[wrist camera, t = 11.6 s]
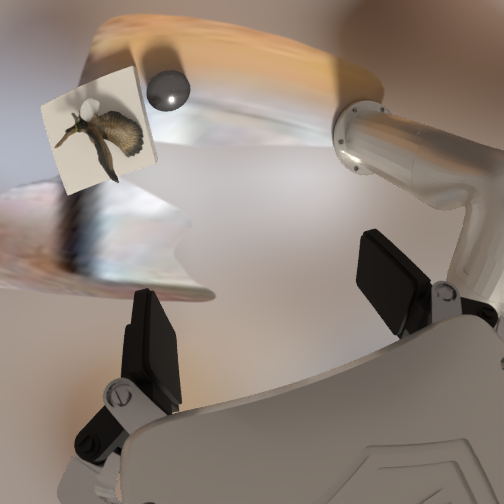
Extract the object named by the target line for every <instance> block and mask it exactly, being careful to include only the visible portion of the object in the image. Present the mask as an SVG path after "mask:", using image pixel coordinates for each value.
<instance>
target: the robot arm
mask: <svg viewBox="0 0 504 504" xmlns="http://www.w3.org/2000/svg"><path fill="white" fill-rule="evenodd" d="M352 109H353V110H352ZM334 147H335V151H336V154H337V157H338V158H339V160H340V162H341V163H342V164H343V165H344V166H345V167H346V168H347V169H349V170H350V171H352V172H353V173H356V174H359V175H371V174H374V173H375V174H377V175H379V176H380V177H382V178H384V179H386V180H387V181H389V182H391V183H392V184H394V185H396V186H398V187H399V188H401V189H402V190H404V191H406V192H407V193H409V194H410V195H412V196H414V197H415V198H417V199H418V200H420V201H422V202H423V203H425V204H426V205H428V206H430V207H432V208H434V209H437V210H442V211H445V210H453V209H456V208H459V207H462V206H465V208H466V213H465V217H464V222H463V227H462V230H461V234H460V236H459V239H458V242H457V245H456V248H455V251H454V254H453V257H452V260H451V263H450V266H449V269H448V273H447V279H446V281H438V282H436V283H434V284H433V285H432V284H431V283H430V281H431V280H430V279H429V278H428V277H427V276H426V275H425V274H424V273H423V272H422V271H421V270H420V269H419V268H418V267H417V266H416V265H415V264H414V263H413V262H412V261H411V260H410V259H409V258H408V257H407V256H406V255H405V254H404V253H402V251H400V250H399V249H398V248H397V247H396V246H395V245H394V244H393V243H392V242H391V241H390V240H388V239H387V238H386V237H385V236H384V235H383V234H382V233H380V232H379V231H378V230H377V229H371V230H368V231H365V232H364V233H363V235H362V236H361V239H360V249H359V259H358V268H357V275H356V283H357V286H358V287H359V289H360V290H361V291H362V293H363V294H364V295H365V296H366V298H367V299H368V300H369V302H370V303H371V304H372V306H373V307H374V308H375V310H376V311H377V312H378V314H379V315H380V316H381V318H382V319H383V320H384V322H385V323H386V325H387V326H388V327H389V329H390V330H391V332H392V333H393V334H394V335H397V336H398V337H399V339H400V340H399V341H397V342H394V343H392V344H390V345H388V346H386V347H384V348H382V349H380V350H377V351H375V352H373V353H371V354H368V355H366V356H364V357H361V358H359V359H357V360H354V361H352V362H349V363H347V364H344V365H342V366H339V367H337V368H334V369H332V370H329V371H326V372H324V373H321V374H318V375H316V376H313V377H310V378H307V379H304V380H301V381H298V382H295V383H292V384H289V385H285V386H282V387H279V388H276V389H272V390H269V391H265V392H262V393H258V394H255V395H251V396H247V397H243V398H240V399H235V400H231V401H228V402H223V403H219V404H215V405H210V406H205V407H201V408H196V409H192V410H187V411H183V412H179V413H175V414H172V412H177V411H179V406H178V404H182V397H181V388H180V378H179V366H178V354H177V339H176V334H175V331H174V329H173V327H172V325H171V323H170V322H169V320H168V318H167V316H166V314H165V312H164V310H163V308H162V306H161V304H160V302H159V300H158V298H157V296H156V294H155V292H154V291H150V290H149V289H148V288H146V289H142V290H138V291H135V294H134V302H133V309H132V318H131V324H128V325H127V326H126V328H125V335H124V344H123V355H122V368H121V378H118V379H115V380H113V381H112V382H110V383H109V384H108V385H107V386H106V388H105V390H104V394H103V401H104V404H105V405H104V407H103V408H102V409H101V410H100V411H99V412H98V413H97V414H96V415H95V416H94V417H93V418H92V419H91V420H90V422H89V423H88V424H87V425H86V426H85V427H84V428H83V429H82V430H81V431H80V432H79V433H78V435H77V436H76V439H75V445H74V447H75V451H76V455H75V457H73V456H72V457H71V459H70V461H69V463H68V465H67V468H66V470H65V472H64V474H63V477H62V479H61V481H60V483H59V486H58V489H57V496H58V499H59V501H60V502H61V503H62V504H122V503H123V504H504V150H501V149H497V148H493V147H490V146H487V145H483V144H480V143H477V142H474V141H471V140H468V139H466V138H463V137H460V136H457V135H455V134H452V133H449V132H446V131H444V130H441V129H438V128H434V127H432V126H429V125H425V124H422V123H419V122H416V121H412V120H409V119H406V118H402V117H398V116H394V115H392V114H391V113H390V111H389V110H388V109H387V108H386V107H385V106H383V105H382V104H380V103H378V102H375V101H370V100H361V101H357V102H354V103H352V104H350V105H349V106H348V107H347V108H346V109H345V110H344V111H343V112H342V113H341V115H340V116H339V118H338V120H337V123H336V126H335V130H334ZM119 473H120V485H121V495H122V503H121V502H120V501H118V499H117V497H116V495H115V487H116V484H117V482H118V481H117V480H116V478H117V476H118V474H119Z"/></svg>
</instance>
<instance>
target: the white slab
mask: <svg viewBox="0 0 504 504" xmlns="http://www.w3.org/2000/svg"><path fill="white" fill-rule="evenodd" d="M89 98H93V99H95V100H97V101H99V111H98V116H100V115H104V113H107V112H108V111H117V112H120V113H121V114H122V115H124V116H126V117H127V118H128V119H131V120H133V121H134V122H137V124H138V125H140V128H141V129H142V131H143V133H142V135H143V136H144V137H143V138H142V140H143V142H144V144H143V145H142V147H143V149H142V150H141V151H140V153H139V154H135V156H130V157H129V158H128V157H127V156H125V155H124V153H123V152H122V151H121V150H120V148H119V147H117V146H116V145H115V144H113V143H112V142H110V141H108V140H105V139H104V141H105V143H106V144H107V146H108V148H109V150H110V152H111V154H112V159H113V169H114V171H115V173H116V175H117V176H120V175H123V174H126V173H129V172H132V171H135V170H138V169H141V168H144V167H147V166H151V165H154V164H156V163H157V160H158V157H157V153H156V150H155V146H154V142H153V138H152V134H151V130H150V126H149V122H148V118H147V114H146V109H145V105H144V101H143V96H142V91H141V87H140V82H139V77H138V72H137V68H136V67H134V66H131V67H128V68H125V69H122V70H119V71H116V72H113V73H111V74H108V75H106V76H103V77H100V78H98V79H96V80H93V81H91V82H89V83H86V84H84V85H82V86H79V87H77V88H75V89H73V90H71V91H69V92H67V93H65V94H63V95H61V96H59V97H57V98H55V99H53V100H51V101H49V102H48V103H46V104H44V105H42V106H41V107H40V108H41V112H42V116H43V121H44V124H45V128H46V132H47V135H48V139H49V142H50V146H51V149H52V152H53V155H54V158H55V162H56V164H57V167H58V170H59V173H60V176H61V179H62V182H63V184H64V187H65V190H66V192H67V195H70V194H73V193H75V192H77V191H80V190H82V189H85V188H87V187H90V186H93V185H95V184H98V183H101V182H103V181H106V180H109V179H110V178H109V176H108V175H107V173H106V172H105V170H104V168H103V167H102V165H100V162H99V161H98V155H97V150H96V148H95V146H94V144H93V143H92V142H91V141H90V139H89V136H88V135H87V134H85V133H84V132H80V133H79V132H76V133H75V134H73V135H70V136H69V137H68V138H67V140H65V141H64V142H63V144H62V145H61V146H60V147H58V148H55V146H56V144H57V143H58V142H59V141H60V140H61V139H62V138H63V136H64V135H65V134H66V133H65V130H66V129H68V128H70V127H72V126H73V125H74V124H75V120H74V117H73V116H72V115H71V113H75V114H76V116H77V117H78V116H79V111H80V108H81V105H82V103H83V101H85V100H86V99H89Z"/></svg>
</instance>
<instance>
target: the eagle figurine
mask: <svg viewBox="0 0 504 504" xmlns="http://www.w3.org/2000/svg"><path fill="white" fill-rule="evenodd" d="M98 111H99V101H97V100H95V99H93V98H89V99H86V100H85V101H83V103H82V105H81V108H80V111H79V116H78V117H77V116H76V114H75V113H71V115H72V116H73V117H74V120H75V124H74V125H73V126H72V127H70V128H68V129H66V130H65V133H66V134H65V135H64V136H63V138H62V139H61V140H60V141H59V142H58V143H57V144H56V146H55V148H58V147H60V146H61V145H62V144H63V142H64V141H65V140H67V138H68V137H69V136H70V135H73V134H75V133H76V132H79V133H80V132H84V133H85V134H87V135H88V136H89V139H90V141H91V142H92V143H93V144H94V146H95V148H96V150H97V155H98V161H99V162H100V165H102V167H103V168H104V170H105V172H106V173H107V175H108V176H109V178H110V179H112V180H113V181H115V182H117V183H119V181H118V178H117V175H116V173H115V171H114V169H113V159H112V154H111V152H110V150H109V148H108V146H107V144H106V143H105V141H104V139H105V140H108V141H110V142H112V143H113V144H115V145H116V146H117V147H119V148H120V150H121V151H122V152H123V153H124V155H125V156H127V157H128V158H129V157H130V156H135V154H139V153H140V151H141V150H142V149H143V147H142V145H143V144H144V142H143V140H142V138H143V137H144V136H143V135H142V133H143V131H142V129H141V128H140V125H138V124H137V122H134V121H133V120H131V119H128V118H127V117H126V116H124V115H122V114H121V113H120V112H117V111H108V112H107V113H104V115H100V116H98Z"/></svg>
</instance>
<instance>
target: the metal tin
mask: <svg viewBox="0 0 504 504" xmlns="http://www.w3.org/2000/svg"><path fill="white" fill-rule="evenodd" d="M189 94H190V84H189V82H188V80H187V78H186V77H185V76H184V75H183V74H181V73H179V72H177V71H164V72H161V73H159V74H157V75H156V76H155V77H153V78H152V80H151V81H150V83H149V84H148V87H147V99H148V101H149V103H150V104H151V105H152V106H153V107H154V108H155V109H157V110H160V111H166V112H167V111H173V110H176V109H178V108H180V107H181V106H182V105H183V104H184V103H185V102H186V101H187V99H188V97H189Z"/></svg>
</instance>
